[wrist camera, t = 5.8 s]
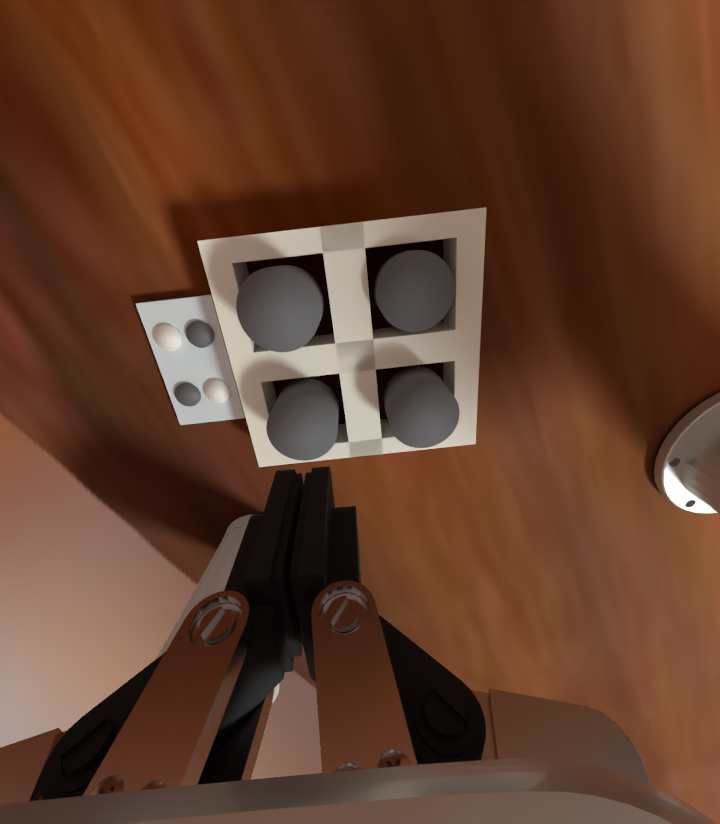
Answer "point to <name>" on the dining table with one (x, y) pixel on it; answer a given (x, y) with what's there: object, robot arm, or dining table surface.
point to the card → (192, 358)
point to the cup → (216, 575)
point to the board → (355, 326)
